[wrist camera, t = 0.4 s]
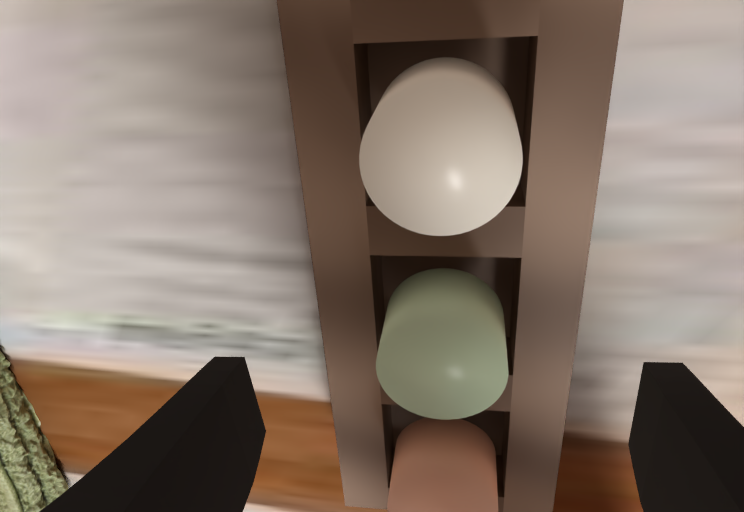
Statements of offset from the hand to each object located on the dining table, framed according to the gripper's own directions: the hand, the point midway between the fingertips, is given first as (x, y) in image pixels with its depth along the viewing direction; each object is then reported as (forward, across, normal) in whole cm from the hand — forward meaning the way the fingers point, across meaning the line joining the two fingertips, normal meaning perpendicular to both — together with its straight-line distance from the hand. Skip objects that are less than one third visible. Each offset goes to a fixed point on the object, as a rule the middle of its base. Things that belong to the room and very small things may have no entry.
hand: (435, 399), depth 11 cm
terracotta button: (+6, 0, +9) cm, 11 cm away
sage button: (+7, 0, +3) cm, 7 cm away
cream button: (+7, 0, -3) cm, 7 cm away
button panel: (+10, 0, +3) cm, 10 cm away
